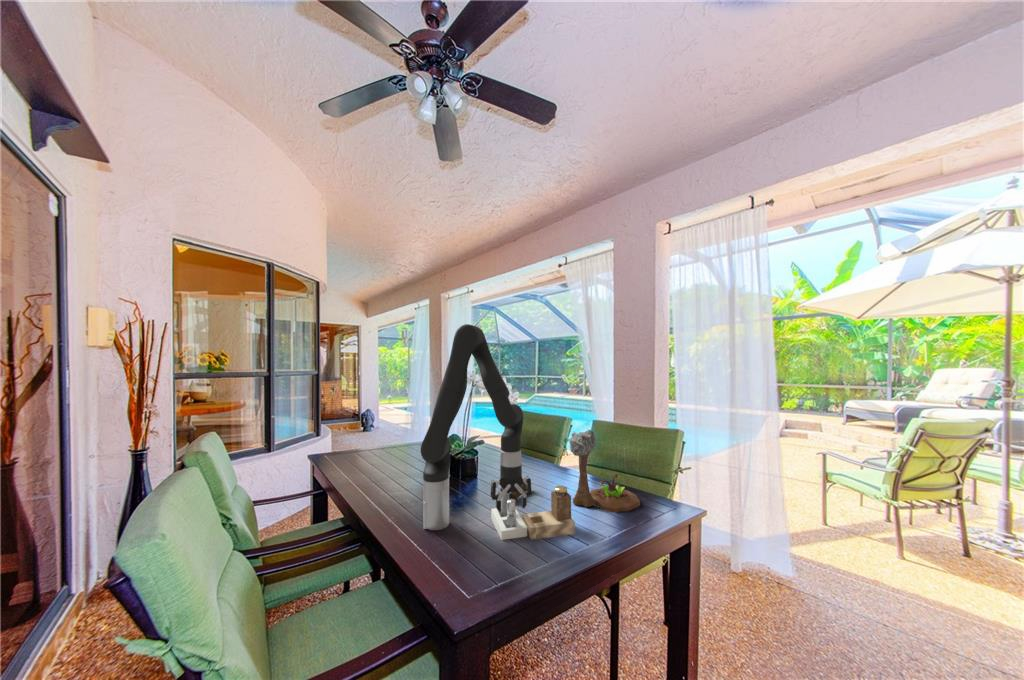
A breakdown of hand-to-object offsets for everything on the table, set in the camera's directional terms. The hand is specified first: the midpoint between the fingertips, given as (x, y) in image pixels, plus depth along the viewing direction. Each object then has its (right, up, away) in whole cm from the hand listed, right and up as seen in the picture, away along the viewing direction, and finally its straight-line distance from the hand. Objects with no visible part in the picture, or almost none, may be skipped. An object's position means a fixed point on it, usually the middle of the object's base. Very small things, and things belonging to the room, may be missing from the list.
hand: (511, 509), depth 127 cm
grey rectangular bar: (0, -9, 0) cm, 9 cm away
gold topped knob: (+18, -1, +3) cm, 18 cm away
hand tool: (+1, -13, +28) cm, 30 cm away
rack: (-1, -9, +4) cm, 10 cm away
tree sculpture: (+30, -9, +24) cm, 39 cm away
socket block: (+13, -9, +2) cm, 16 cm away
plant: (+43, -10, +27) cm, 52 cm away
